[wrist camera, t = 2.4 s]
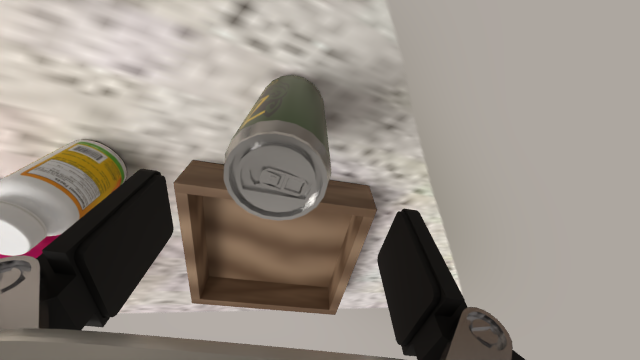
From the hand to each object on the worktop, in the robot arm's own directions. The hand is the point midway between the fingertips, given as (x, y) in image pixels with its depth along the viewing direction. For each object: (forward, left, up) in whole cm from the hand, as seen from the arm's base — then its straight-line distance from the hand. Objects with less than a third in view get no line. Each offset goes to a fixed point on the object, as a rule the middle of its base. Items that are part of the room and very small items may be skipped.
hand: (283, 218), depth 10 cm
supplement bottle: (+9, -19, -14) cm, 25 cm away
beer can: (0, -1, -14) cm, 14 cm away
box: (+16, -1, -14) cm, 21 cm away
